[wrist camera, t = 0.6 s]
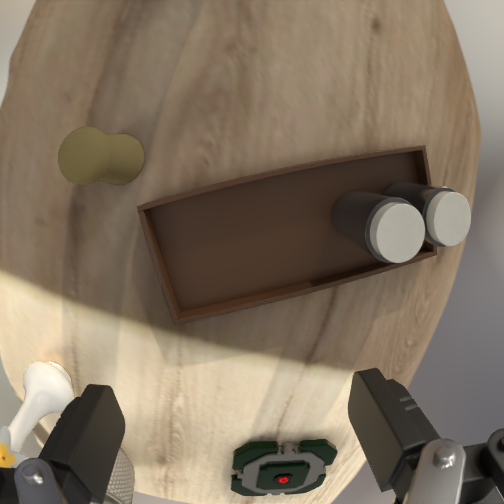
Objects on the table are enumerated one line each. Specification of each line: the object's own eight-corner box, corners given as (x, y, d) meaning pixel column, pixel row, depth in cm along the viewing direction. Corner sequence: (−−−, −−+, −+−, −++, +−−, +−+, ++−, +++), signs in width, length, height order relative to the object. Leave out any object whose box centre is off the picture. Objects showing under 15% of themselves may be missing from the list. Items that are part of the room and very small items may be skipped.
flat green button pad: (233, 435, 43) (234, 456, 38) (338, 431, 44) (345, 449, 40) (229, 486, 47) (230, 503, 43) (315, 482, 49) (320, 498, 44)
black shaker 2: (375, 185, 34) (427, 193, 23) (414, 178, 34) (471, 184, 23) (382, 233, 35) (432, 257, 25) (419, 223, 35) (474, 242, 25)
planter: (143, 439, 42) (128, 496, 30) (141, 475, 45) (131, 524, 33) (71, 415, 41) (44, 465, 28) (79, 455, 44) (60, 500, 31)
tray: (143, 204, 33) (136, 206, 31) (414, 145, 33) (425, 144, 31) (178, 315, 37) (174, 324, 34) (427, 250, 37) (437, 254, 34)
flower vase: (5, 333, 36) (-82, 419, 12) (94, 354, 38) (15, 486, 13) (25, 393, 39) (-36, 482, 15) (109, 416, 41) (64, 537, 17)
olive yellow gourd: (132, 124, 31) (92, 106, 20) (152, 169, 32) (117, 168, 22) (90, 150, 31) (39, 144, 20) (109, 194, 32) (62, 203, 22)
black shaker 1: (327, 195, 34) (367, 206, 23) (373, 186, 34) (425, 193, 23) (336, 245, 35) (376, 275, 25) (380, 234, 35) (430, 258, 25)
